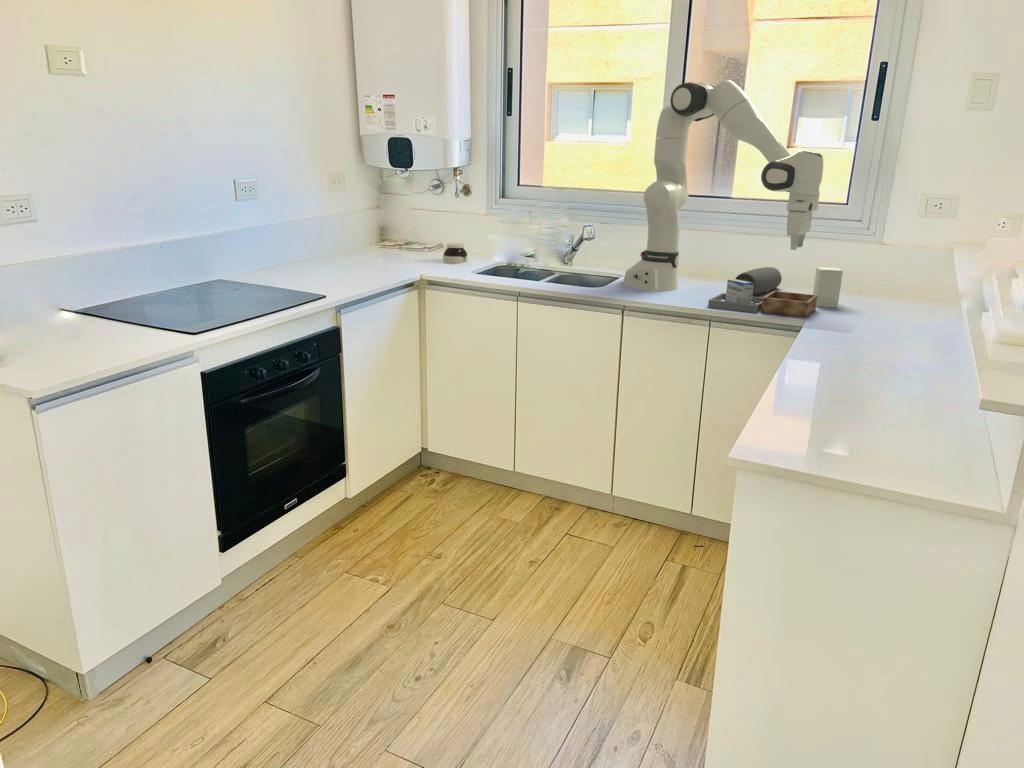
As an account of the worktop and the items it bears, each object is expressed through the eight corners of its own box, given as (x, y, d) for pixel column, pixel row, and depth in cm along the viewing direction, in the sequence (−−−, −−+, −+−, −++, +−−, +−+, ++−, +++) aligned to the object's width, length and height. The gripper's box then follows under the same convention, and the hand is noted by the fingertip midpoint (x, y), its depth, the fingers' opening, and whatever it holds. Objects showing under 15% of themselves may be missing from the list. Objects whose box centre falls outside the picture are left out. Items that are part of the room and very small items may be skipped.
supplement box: (837, 308, 254) (843, 270, 251) (814, 306, 256) (820, 269, 252) (833, 304, 261) (839, 267, 258) (811, 302, 263) (816, 266, 259)
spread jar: (455, 274, 305) (455, 245, 301) (433, 271, 311) (433, 243, 307) (472, 271, 314) (473, 243, 311) (451, 268, 320) (451, 240, 317)
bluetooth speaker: (757, 290, 285) (760, 264, 282) (781, 294, 279) (784, 267, 276) (730, 298, 268) (733, 270, 265) (755, 301, 262) (758, 273, 259)
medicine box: (724, 304, 255) (727, 279, 253) (733, 303, 257) (736, 278, 255) (741, 309, 249) (744, 283, 246) (751, 308, 251) (754, 282, 248)
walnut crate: (761, 312, 243) (762, 297, 242) (772, 305, 256) (773, 290, 255) (806, 318, 236) (808, 302, 235) (815, 310, 250) (817, 295, 248)
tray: (707, 307, 250) (708, 299, 249) (721, 300, 263) (722, 293, 263) (756, 313, 242) (757, 305, 242) (768, 305, 256) (768, 298, 255)
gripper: (798, 202, 246) (792, 244, 251) (785, 204, 229) (779, 250, 234) (819, 203, 243) (812, 246, 248) (807, 206, 226) (800, 252, 231)
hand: (796, 248), depth 240 cm, fingers open, 8 cm apart
